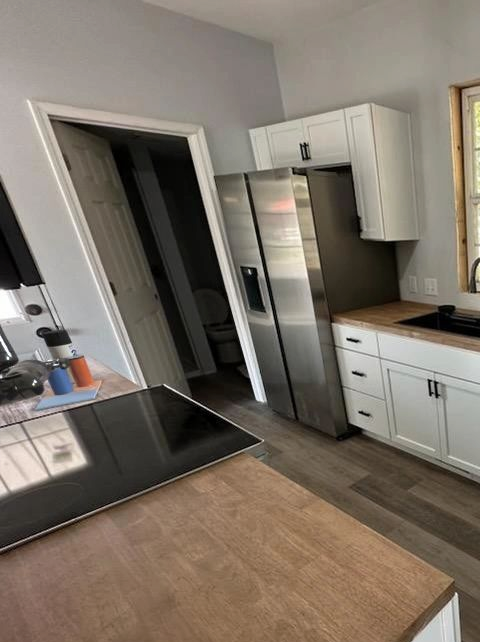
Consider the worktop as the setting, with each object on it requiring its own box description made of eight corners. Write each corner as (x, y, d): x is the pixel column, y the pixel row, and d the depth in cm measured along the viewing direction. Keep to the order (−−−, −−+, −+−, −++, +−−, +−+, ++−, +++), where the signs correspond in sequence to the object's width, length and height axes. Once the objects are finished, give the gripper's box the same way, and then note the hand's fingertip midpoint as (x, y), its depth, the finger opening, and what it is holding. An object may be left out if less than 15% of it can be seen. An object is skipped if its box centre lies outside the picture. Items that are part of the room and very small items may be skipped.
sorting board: (35, 410, 133) (34, 409, 133) (50, 391, 151) (49, 389, 150) (94, 399, 141) (93, 397, 141) (101, 381, 159) (101, 380, 159)
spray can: (85, 381, 159) (64, 331, 152) (61, 385, 156) (38, 334, 149) (90, 377, 164) (69, 328, 157) (66, 381, 161) (44, 331, 154)
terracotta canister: (75, 388, 151) (62, 359, 147) (77, 384, 154) (65, 356, 151) (94, 384, 154) (82, 356, 150) (96, 381, 157) (84, 353, 154)
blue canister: (52, 396, 143) (38, 366, 139) (55, 392, 147) (42, 363, 143) (73, 392, 146) (60, 363, 142) (75, 388, 150) (63, 360, 146)
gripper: (57, 357, 125) (67, 347, 137) (-14, 368, 116) (3, 356, 128) (68, 380, 127) (76, 369, 139) (-1, 392, 119) (14, 379, 131)
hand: (41, 363), depth 134 cm, fingers open, 8 cm apart
